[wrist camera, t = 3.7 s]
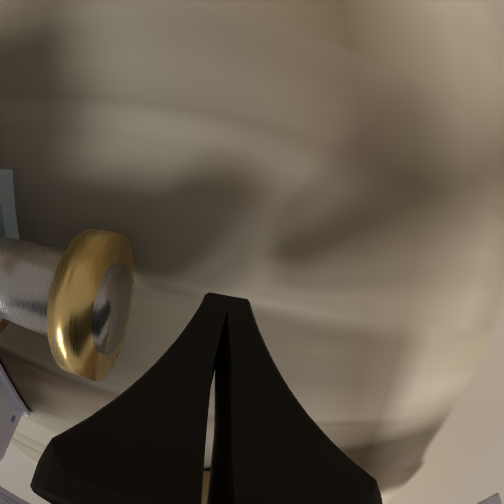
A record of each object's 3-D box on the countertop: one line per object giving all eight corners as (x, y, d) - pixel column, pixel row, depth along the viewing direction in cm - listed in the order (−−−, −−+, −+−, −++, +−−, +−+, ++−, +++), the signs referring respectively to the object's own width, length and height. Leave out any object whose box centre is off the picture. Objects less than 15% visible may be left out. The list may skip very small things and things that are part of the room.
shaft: (139, 317, 12) (102, 409, 8) (-19, 269, 11) (-70, 323, 7) (140, 211, 10) (71, 295, 6) (-35, 184, 9) (-103, 228, 5)
